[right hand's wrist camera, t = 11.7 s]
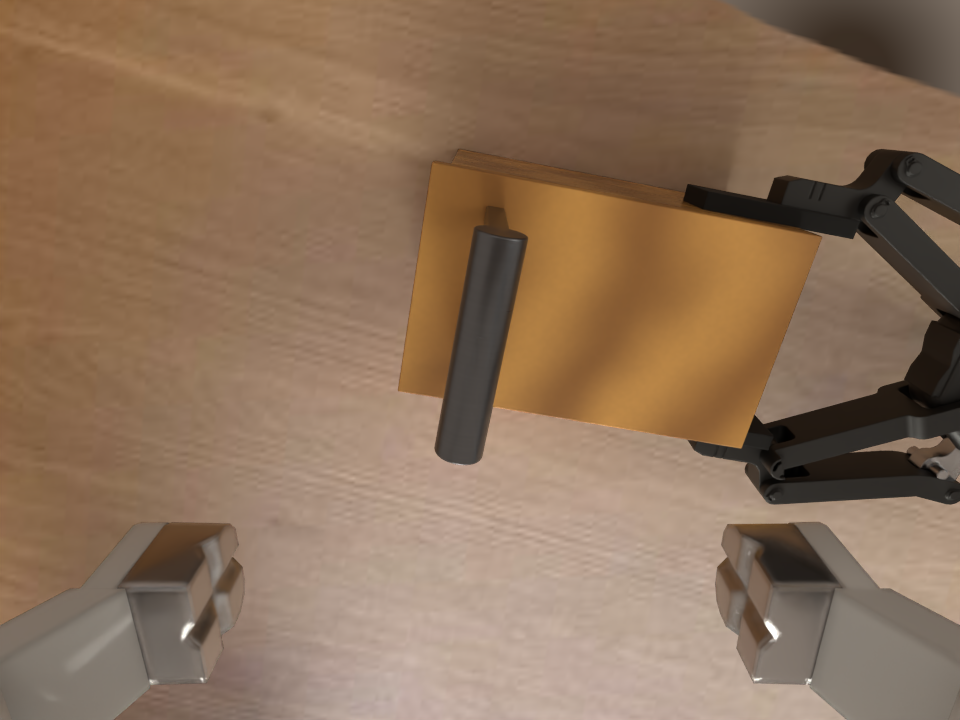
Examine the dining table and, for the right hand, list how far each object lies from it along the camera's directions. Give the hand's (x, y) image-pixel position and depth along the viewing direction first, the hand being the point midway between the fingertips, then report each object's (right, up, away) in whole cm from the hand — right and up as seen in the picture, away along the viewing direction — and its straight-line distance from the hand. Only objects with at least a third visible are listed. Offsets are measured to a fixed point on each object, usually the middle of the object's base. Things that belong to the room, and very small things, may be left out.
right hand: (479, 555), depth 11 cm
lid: (+5, +5, +16) cm, 17 cm away
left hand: (+8, +6, +18) cm, 21 cm away
